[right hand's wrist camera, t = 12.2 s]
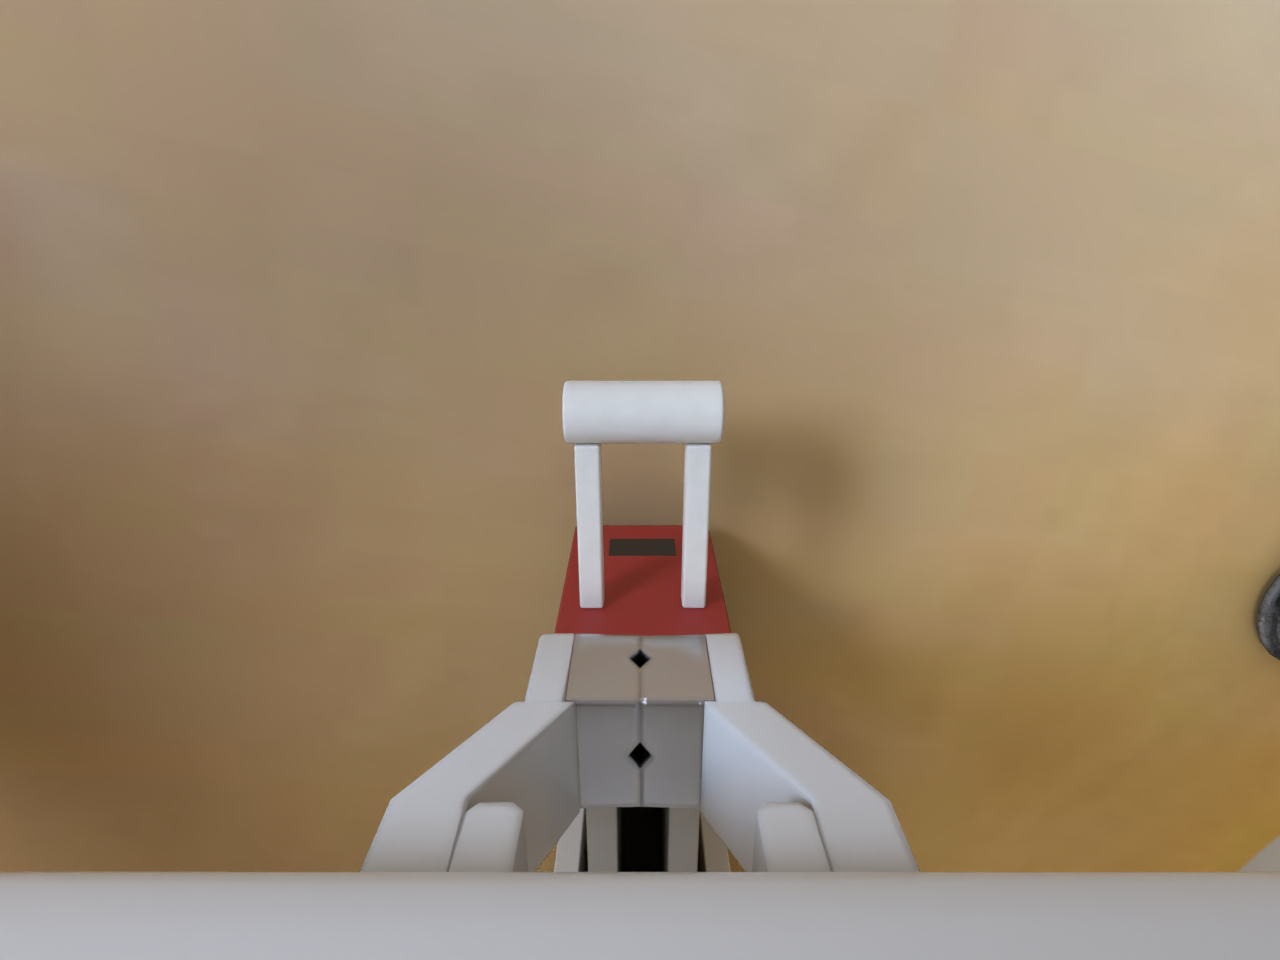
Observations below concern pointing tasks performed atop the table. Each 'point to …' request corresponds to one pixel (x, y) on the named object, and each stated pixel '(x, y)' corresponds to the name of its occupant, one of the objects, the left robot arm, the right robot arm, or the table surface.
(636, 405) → the drawer
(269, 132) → the table surface
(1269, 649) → the dark grey chess piece
